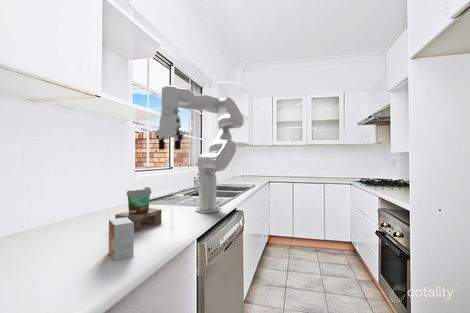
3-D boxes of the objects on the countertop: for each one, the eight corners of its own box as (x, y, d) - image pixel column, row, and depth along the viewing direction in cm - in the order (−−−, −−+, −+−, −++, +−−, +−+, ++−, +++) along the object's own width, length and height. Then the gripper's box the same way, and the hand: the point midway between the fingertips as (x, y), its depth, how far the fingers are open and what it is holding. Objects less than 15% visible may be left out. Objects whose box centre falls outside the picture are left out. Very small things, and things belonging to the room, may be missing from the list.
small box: (108, 252, 78) (108, 219, 77) (127, 248, 81) (127, 216, 81) (113, 261, 71) (113, 225, 71) (133, 256, 75) (134, 222, 74)
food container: (139, 216, 99) (139, 191, 98) (126, 215, 100) (126, 190, 100) (157, 209, 110) (157, 187, 110) (145, 208, 112) (145, 186, 112)
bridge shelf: (145, 219, 115) (145, 207, 115) (161, 222, 111) (161, 209, 111) (115, 229, 101) (115, 214, 101) (132, 232, 97) (132, 217, 97)
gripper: (189, 112, 114) (189, 149, 114) (161, 115, 122) (161, 149, 122) (179, 110, 108) (178, 149, 108) (150, 113, 115) (149, 149, 116)
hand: (169, 149), depth 115 cm, fingers open, 9 cm apart
